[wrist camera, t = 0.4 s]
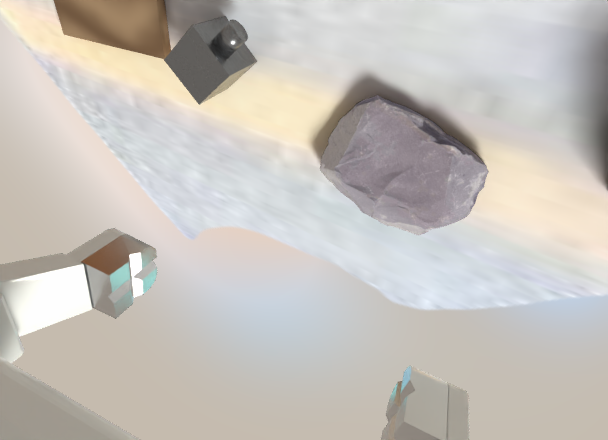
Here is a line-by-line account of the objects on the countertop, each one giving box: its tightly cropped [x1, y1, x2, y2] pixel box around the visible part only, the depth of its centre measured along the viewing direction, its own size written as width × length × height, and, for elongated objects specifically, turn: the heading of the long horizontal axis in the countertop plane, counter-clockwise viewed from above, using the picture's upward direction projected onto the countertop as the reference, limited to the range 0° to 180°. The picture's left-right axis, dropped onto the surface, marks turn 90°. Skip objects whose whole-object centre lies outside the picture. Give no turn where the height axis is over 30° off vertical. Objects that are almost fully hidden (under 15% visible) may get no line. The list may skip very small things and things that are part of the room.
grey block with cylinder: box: [164, 16, 257, 105], centre depth 44 cm, size 6×9×7 cm
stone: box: [320, 95, 488, 235], centre depth 46 cm, size 20×15×5 cm
